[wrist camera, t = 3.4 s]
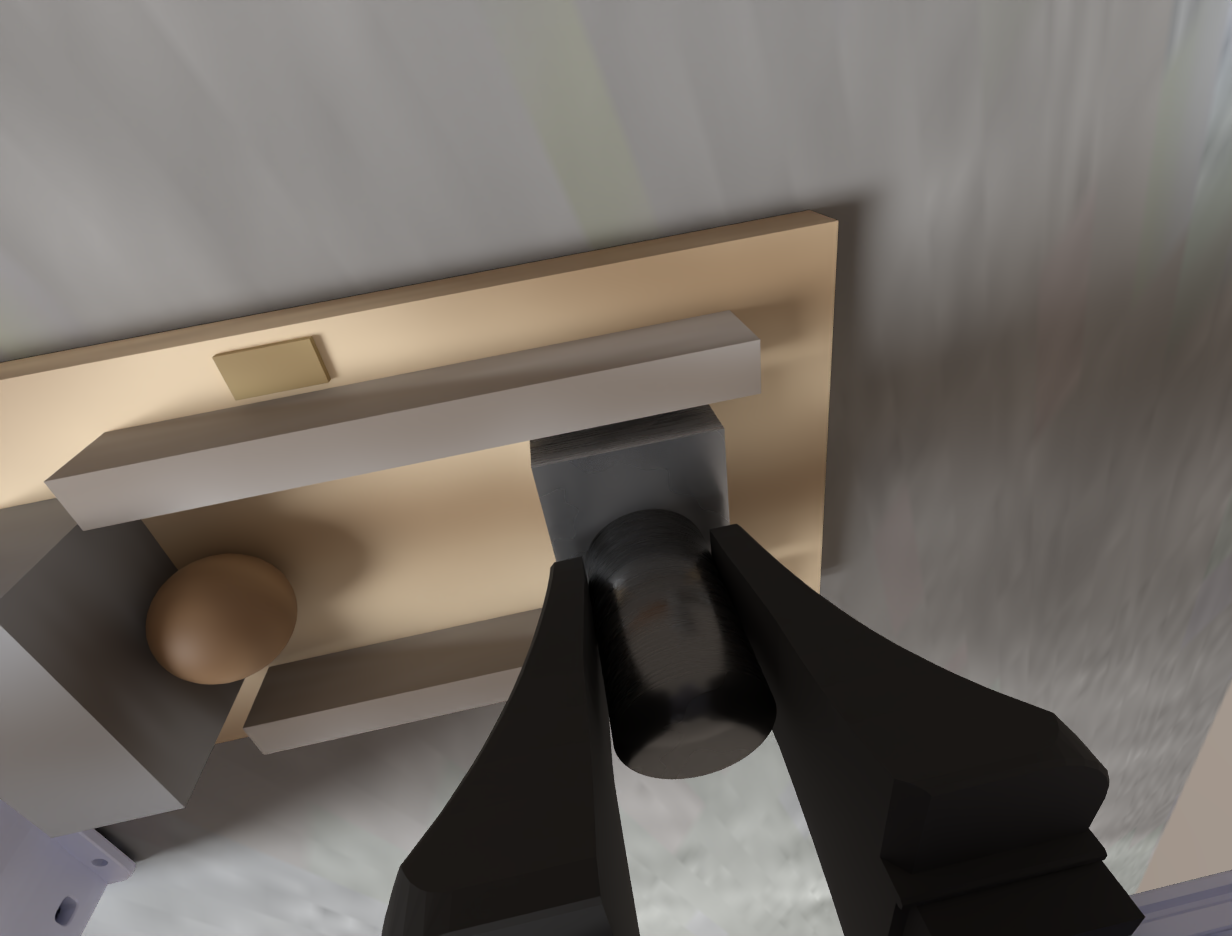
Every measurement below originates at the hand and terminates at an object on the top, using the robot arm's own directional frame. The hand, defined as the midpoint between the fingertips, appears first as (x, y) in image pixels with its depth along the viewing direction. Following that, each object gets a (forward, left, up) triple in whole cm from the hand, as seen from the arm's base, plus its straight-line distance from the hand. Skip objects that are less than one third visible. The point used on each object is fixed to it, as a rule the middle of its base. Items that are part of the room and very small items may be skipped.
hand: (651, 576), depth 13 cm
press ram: (0, 0, -3) cm, 3 cm away
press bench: (0, +5, -5) cm, 7 cm away
